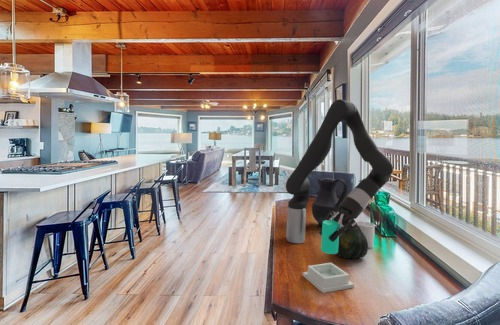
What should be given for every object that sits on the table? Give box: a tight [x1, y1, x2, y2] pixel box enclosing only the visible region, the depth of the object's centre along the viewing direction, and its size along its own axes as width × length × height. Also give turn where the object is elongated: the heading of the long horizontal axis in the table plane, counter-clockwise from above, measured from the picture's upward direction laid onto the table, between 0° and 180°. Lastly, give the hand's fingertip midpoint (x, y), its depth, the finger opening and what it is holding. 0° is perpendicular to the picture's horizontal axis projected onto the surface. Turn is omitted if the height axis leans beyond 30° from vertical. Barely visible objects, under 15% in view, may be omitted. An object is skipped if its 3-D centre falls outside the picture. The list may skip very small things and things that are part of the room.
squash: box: [335, 226, 369, 259], centre depth 130 cm, size 14×15×15 cm
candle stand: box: [302, 262, 355, 294], centre depth 106 cm, size 13×13×4 cm
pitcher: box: [311, 178, 348, 229], centre depth 170 cm, size 17×21×30 cm
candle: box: [320, 218, 339, 255], centre depth 105 cm, size 6×6×12 cm
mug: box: [356, 220, 376, 249], centre depth 145 cm, size 12×9×11 cm
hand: (326, 237), depth 104 cm, fingers closed on candle, 5 cm apart
